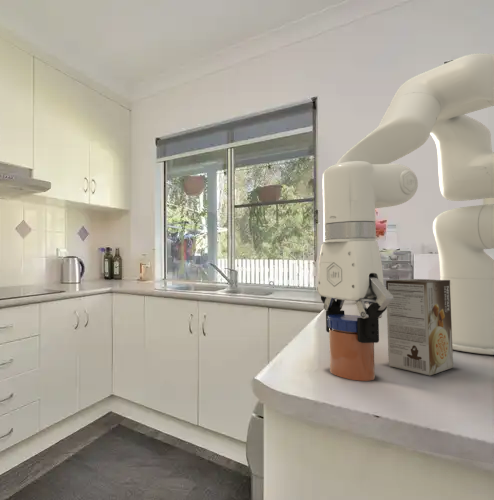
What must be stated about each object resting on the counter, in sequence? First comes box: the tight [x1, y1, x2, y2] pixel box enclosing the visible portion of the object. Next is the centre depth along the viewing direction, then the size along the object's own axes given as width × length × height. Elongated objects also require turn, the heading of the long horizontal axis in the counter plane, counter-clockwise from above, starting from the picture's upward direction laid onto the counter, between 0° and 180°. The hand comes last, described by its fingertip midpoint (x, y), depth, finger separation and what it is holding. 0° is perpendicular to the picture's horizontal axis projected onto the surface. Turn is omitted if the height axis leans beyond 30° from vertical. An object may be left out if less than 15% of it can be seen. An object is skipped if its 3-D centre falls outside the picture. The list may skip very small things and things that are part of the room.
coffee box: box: [385, 278, 454, 376], centre depth 62 cm, size 9×6×16 cm
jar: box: [328, 328, 376, 382], centre depth 58 cm, size 6×6×9 cm
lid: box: [327, 314, 361, 332], centre depth 58 cm, size 7×7×2 cm
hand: (350, 336), depth 58 cm, fingers closed on lid, 6 cm apart
